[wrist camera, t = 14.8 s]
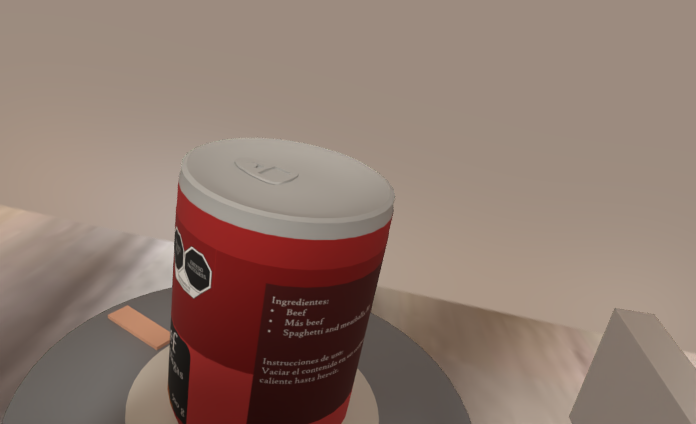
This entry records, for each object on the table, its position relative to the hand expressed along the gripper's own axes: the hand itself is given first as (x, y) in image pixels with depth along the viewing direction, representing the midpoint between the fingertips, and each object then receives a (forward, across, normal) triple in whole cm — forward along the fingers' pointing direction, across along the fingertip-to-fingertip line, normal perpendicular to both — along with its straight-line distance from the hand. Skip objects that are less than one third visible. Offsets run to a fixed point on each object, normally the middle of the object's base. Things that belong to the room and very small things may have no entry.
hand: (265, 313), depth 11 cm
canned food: (+10, -1, -12) cm, 16 cm away
